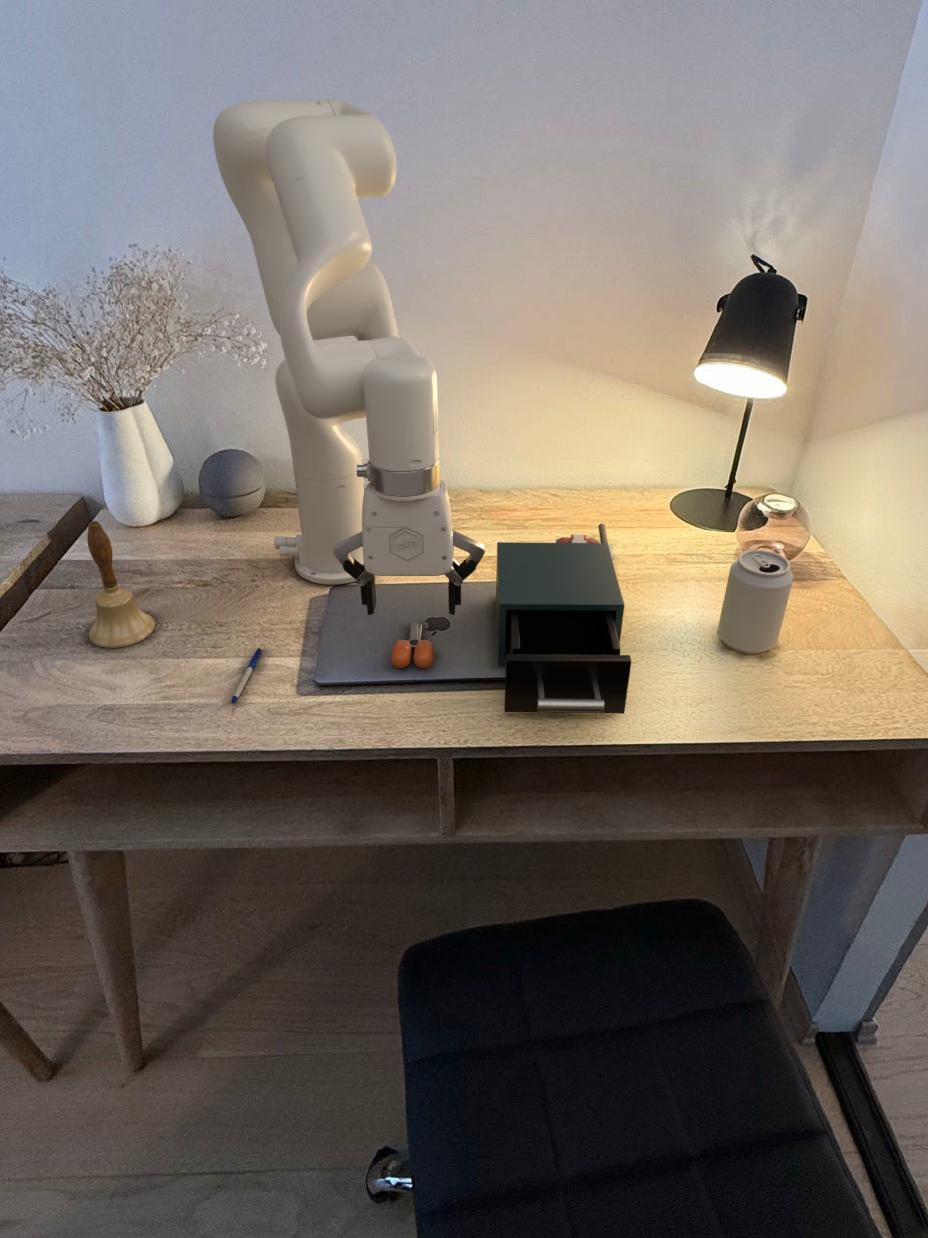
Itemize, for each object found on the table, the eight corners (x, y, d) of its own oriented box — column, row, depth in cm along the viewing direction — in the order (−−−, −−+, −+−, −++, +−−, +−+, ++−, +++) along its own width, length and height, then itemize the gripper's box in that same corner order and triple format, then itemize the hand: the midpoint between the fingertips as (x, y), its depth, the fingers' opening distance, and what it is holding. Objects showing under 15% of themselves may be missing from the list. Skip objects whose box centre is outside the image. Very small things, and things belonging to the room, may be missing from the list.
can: (744, 663, 103) (764, 581, 96) (704, 633, 108) (719, 553, 102) (788, 647, 106) (810, 566, 99) (747, 618, 111) (765, 540, 105)
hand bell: (168, 619, 111) (142, 512, 103) (128, 653, 105) (97, 542, 96) (117, 608, 114) (87, 503, 105) (75, 641, 107) (40, 532, 98)
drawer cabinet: (616, 667, 102) (624, 604, 97) (497, 666, 102) (499, 603, 97) (601, 601, 115) (608, 542, 110) (495, 600, 115) (497, 541, 110)
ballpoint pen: (256, 652, 105) (255, 645, 104) (262, 652, 105) (261, 645, 104) (230, 704, 96) (229, 698, 96) (238, 705, 96) (237, 698, 96)
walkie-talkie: (618, 599, 115) (607, 532, 132) (621, 572, 113) (610, 507, 130) (555, 597, 116) (552, 531, 133) (557, 570, 114) (554, 506, 130)
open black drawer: (630, 743, 89) (638, 689, 85) (505, 741, 90) (507, 688, 86) (608, 642, 105) (614, 592, 101) (501, 641, 105) (503, 591, 101)
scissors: (432, 672, 101) (432, 656, 100) (390, 672, 102) (389, 656, 100) (436, 629, 109) (435, 614, 108) (397, 628, 109) (396, 613, 108)
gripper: (320, 489, 86) (335, 626, 95) (485, 488, 86) (484, 626, 95) (331, 462, 93) (344, 593, 102) (484, 461, 92) (484, 593, 101)
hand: (412, 608), depth 98 cm, fingers open, 9 cm apart
